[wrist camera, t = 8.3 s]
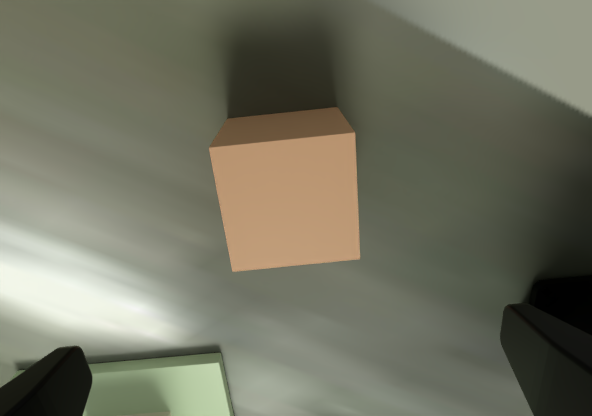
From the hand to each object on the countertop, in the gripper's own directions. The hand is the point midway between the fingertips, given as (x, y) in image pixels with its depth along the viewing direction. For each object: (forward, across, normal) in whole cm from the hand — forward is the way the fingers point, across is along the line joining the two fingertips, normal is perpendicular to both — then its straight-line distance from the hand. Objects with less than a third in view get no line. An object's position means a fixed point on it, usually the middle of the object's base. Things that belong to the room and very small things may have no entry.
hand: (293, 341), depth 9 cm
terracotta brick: (+12, 0, 0) cm, 12 cm away
